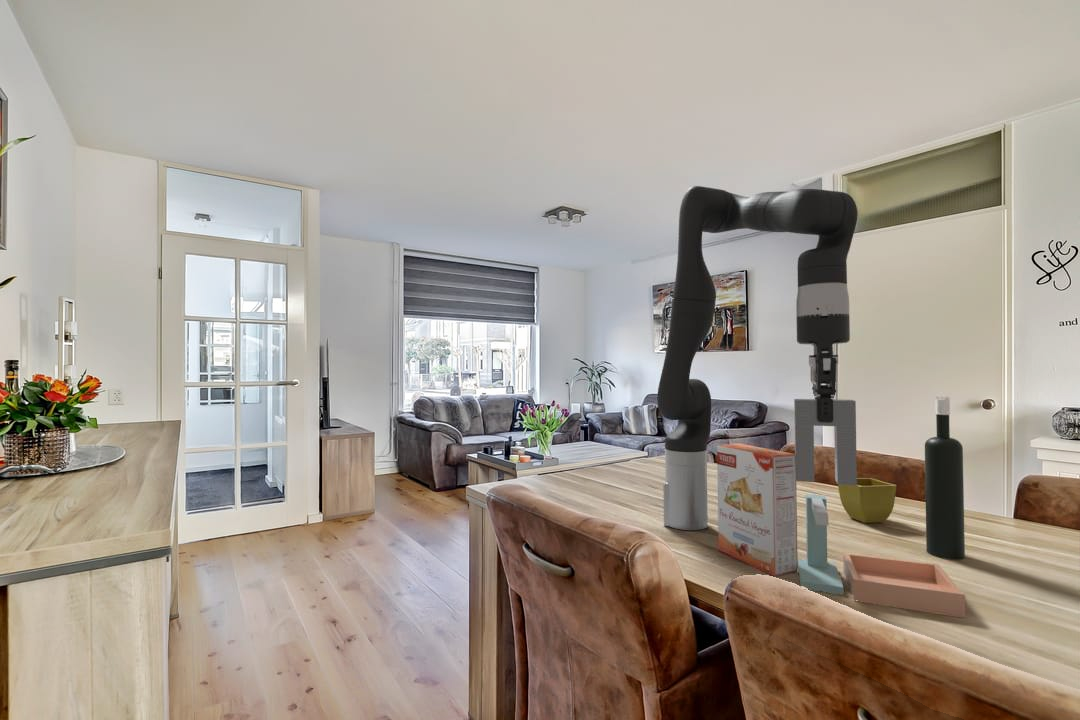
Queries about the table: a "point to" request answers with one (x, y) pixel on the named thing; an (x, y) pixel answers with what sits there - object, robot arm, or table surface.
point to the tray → (903, 584)
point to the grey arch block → (842, 434)
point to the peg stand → (818, 550)
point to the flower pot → (868, 500)
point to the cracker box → (758, 507)
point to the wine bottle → (944, 489)
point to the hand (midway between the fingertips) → (824, 420)
